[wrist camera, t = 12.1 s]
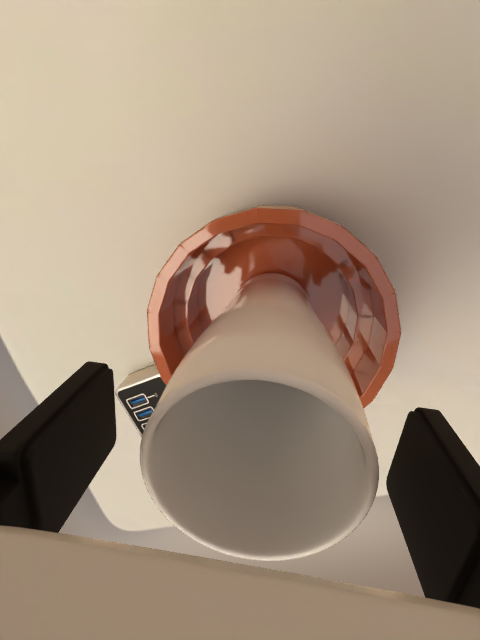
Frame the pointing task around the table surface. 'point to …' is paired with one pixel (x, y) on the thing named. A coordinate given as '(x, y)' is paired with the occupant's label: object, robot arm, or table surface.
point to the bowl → (288, 259)
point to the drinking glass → (262, 432)
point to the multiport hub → (141, 395)
